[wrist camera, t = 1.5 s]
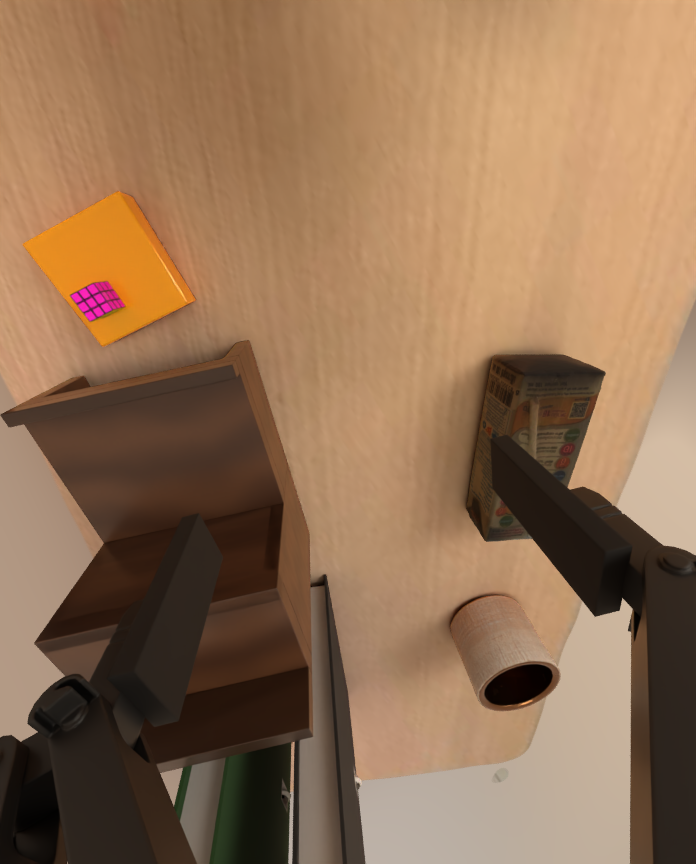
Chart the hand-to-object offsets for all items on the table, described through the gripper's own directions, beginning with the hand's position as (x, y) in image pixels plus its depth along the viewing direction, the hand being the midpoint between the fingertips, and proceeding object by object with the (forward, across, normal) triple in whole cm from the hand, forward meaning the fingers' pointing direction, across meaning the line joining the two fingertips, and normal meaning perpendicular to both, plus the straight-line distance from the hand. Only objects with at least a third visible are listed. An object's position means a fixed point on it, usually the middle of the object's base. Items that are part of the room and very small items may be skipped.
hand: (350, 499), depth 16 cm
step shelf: (+20, -14, -7) cm, 25 cm away
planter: (+20, +13, -42) cm, 49 cm away
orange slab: (+20, -14, +12) cm, 27 cm away
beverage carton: (+20, +17, -12) cm, 29 cm away
